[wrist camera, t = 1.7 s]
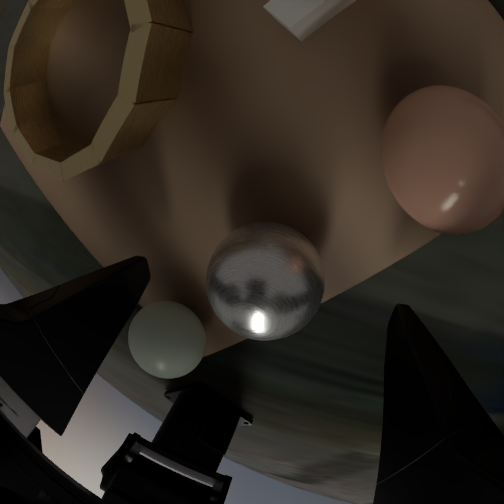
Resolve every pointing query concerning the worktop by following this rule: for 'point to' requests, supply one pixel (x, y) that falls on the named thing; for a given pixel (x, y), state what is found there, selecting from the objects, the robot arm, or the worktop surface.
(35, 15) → the race ring
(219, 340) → the board
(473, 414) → the robot arm
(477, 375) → the worktop surface
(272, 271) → the steel ball
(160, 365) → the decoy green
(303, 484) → the worktop surface
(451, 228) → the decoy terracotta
